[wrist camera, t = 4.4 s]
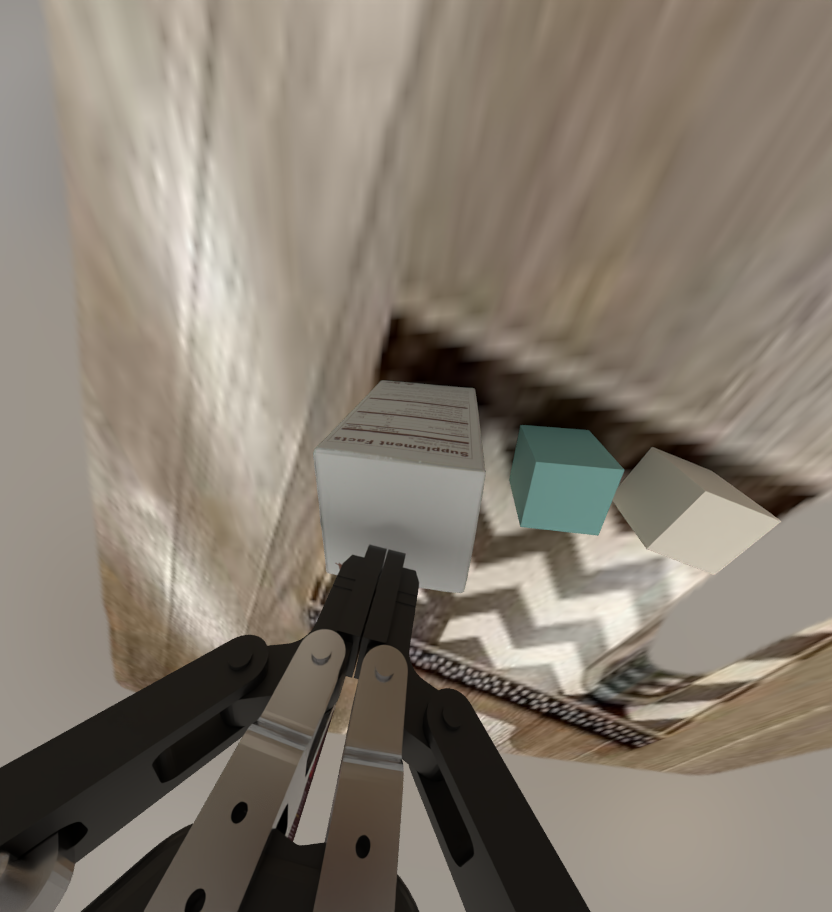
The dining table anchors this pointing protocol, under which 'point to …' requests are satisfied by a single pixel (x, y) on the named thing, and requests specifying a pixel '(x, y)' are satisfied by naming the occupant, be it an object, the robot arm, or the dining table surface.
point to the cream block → (689, 512)
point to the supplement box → (405, 480)
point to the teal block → (562, 479)
